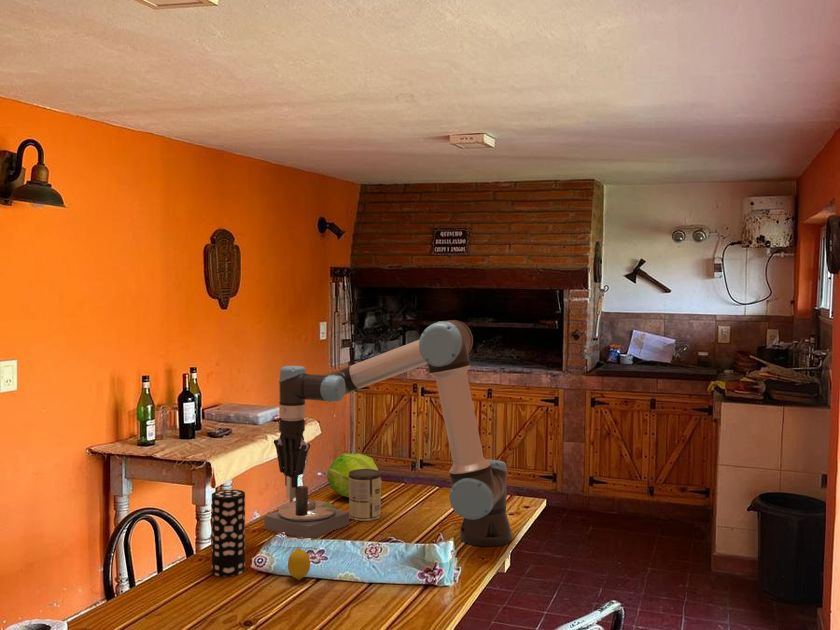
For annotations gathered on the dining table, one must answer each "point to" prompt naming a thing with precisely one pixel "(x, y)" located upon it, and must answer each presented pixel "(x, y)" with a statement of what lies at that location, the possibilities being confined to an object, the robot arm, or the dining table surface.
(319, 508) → the peg on round base
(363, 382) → the robot arm
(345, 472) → the lettuce
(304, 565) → the lemon
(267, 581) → the dining table surface
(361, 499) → the coffee can
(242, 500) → the spotted tube
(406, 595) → the dining table surface
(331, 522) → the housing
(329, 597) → the dining table surface
